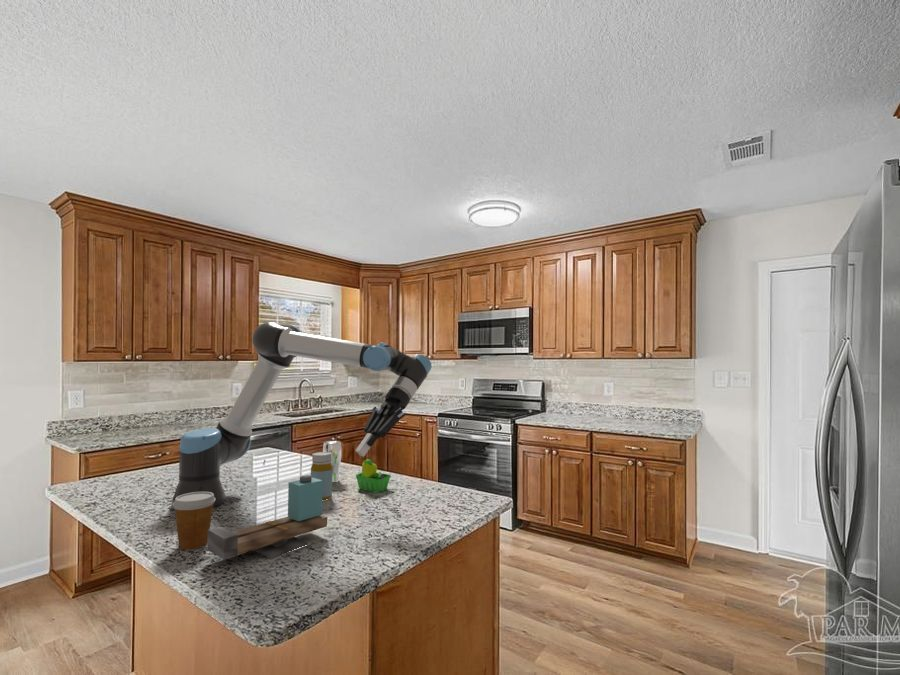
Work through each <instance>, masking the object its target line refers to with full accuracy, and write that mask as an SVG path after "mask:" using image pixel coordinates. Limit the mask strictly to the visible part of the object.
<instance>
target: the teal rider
mask: <svg viewBox="0 0 900 675" xmlns="http://www.w3.org/2000/svg"><path fill="white" fill-rule="evenodd" d="M287 487H288V490H287V491H288V494H287V499H288V500H287V516H288V518H291V519H293V520H296V521H302V520H305V519H309V518H312V517H316V516H319V515H323V501H322V480H319V479H316V478H312V476H311V475H309V474H307V475H301V476H299V479H298V480H292V481H289V482H288V486H287Z"/></svg>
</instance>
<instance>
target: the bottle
mask: <svg viewBox="0 0 900 675" xmlns="http://www.w3.org/2000/svg"><path fill="white" fill-rule="evenodd" d="M311 458H312V459H311V461H312V464H311V466H310V476H312V478H316V479H319V480H322V500H326V499H329V498H330V499H331V498H332V496H333V483H332V465H331V453H330V452H323V451H319V452H314V453H312V457H311ZM330 499H329V500H330ZM326 501H327V500H326Z"/></svg>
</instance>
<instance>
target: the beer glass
mask: <svg viewBox="0 0 900 675" xmlns="http://www.w3.org/2000/svg"><path fill="white" fill-rule="evenodd" d="M322 452H330V453H331V465H332V482H337V481H339V480H340V481H341V479H340V478H341V477H340V465H341V461H342V442H341V441H340V440H327V441H323V448H322ZM340 481H339V482H340ZM337 483H338V482H337Z"/></svg>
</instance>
